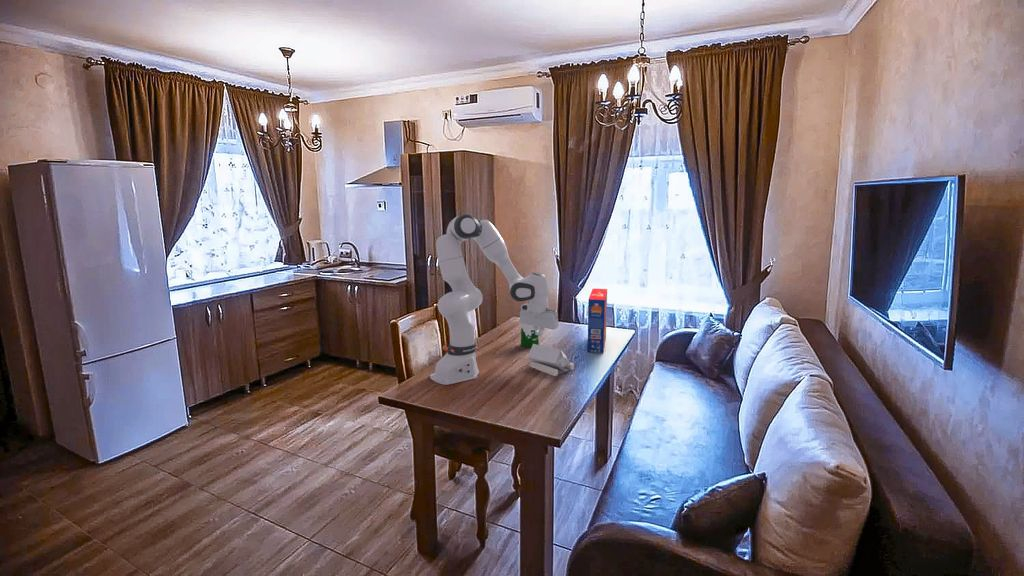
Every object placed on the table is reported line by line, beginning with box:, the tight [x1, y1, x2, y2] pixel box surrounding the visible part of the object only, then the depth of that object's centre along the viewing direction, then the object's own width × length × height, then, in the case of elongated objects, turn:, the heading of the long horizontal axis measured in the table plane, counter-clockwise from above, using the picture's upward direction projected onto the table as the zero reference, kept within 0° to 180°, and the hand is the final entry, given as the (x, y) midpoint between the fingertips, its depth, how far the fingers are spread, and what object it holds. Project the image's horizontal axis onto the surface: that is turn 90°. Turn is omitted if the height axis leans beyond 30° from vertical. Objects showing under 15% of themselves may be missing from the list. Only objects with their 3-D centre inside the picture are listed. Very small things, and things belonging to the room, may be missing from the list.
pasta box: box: [587, 288, 608, 354], centre depth 256 cm, size 28×8×28 cm, turn 166°
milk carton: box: [527, 344, 572, 369], centre depth 224 cm, size 7×7×19 cm
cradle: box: [529, 360, 575, 377], centre depth 225 cm, size 13×16×2 cm
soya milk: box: [520, 322, 540, 349], centre depth 257 cm, size 9×9×20 cm
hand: (538, 335), depth 229 cm, fingers closed
